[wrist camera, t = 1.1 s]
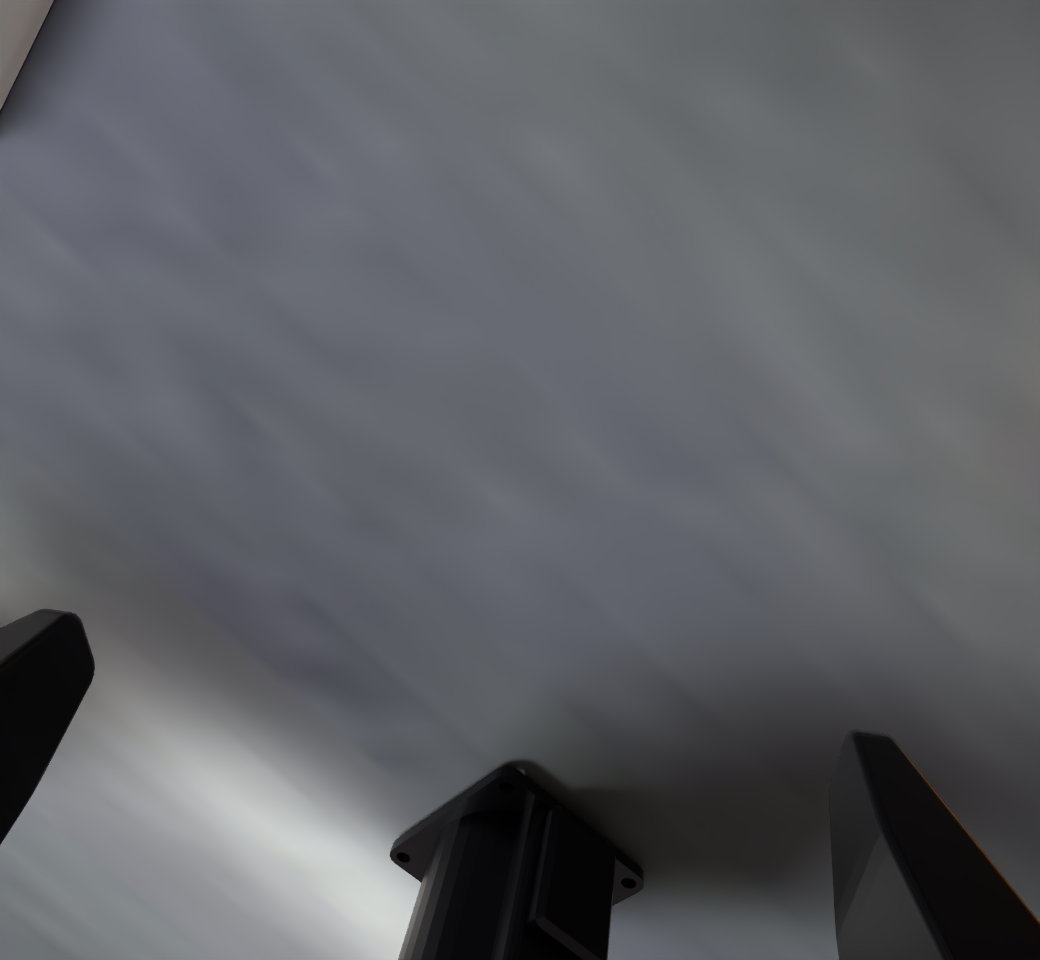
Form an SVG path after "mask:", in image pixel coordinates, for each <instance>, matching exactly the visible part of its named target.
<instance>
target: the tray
mask: <svg viewBox="0 0 1040 960" xmlns="http://www.w3.org/2000/svg"><path fill="white" fill-rule="evenodd" d="M53 1H54V0H0V110H1V108H2V106H3V104H4V102H5V100H6V98H7V96H8V94H9V92H10V90H11V88H12V86H13V83H14V81H15V79H16V77H17V75H18V73H19V71H20V69H21V67H22V65H23V63H24V61H25V59H26V57H27V55H28V53H29V51H30V48H31V46H32V44H33V42H34V40H35V38H36V36H37V34H38V32H39V30H40V28H41V26H42V24H43V22H44V20H45V18H46V16H47V13H48V11H49V9H50V7H51V5H52V3H53Z"/></svg>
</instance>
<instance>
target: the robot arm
mask: <svg viewBox="0 0 1040 960" xmlns="http://www.w3.org/2000/svg"><path fill="white" fill-rule="evenodd" d="M94 670H95V662H94V658H93V655H92V652H91V649H90V646H89V643H88V639H87V636H86V633H85V630H84V627H83V624H82V621H81V619H80V618H79V617H78V616H77V615H76V614H74V613H72V612H65V611H59V610H52V609H42V610H38V611H36V612H34V613H31V614H29V615H27V616H25V617H23V618H21V619H19V620H17V621H15V622H13V623H11V624H9V625H6V626H4V627H2V628H0V845H1V843H2V841H3V840H4V838H5V837H6V835H7V834H8V832H9V831H10V829H11V828H12V826H13V825H14V823H15V821H16V820H17V818H18V817H19V815H20V814H21V812H22V811H23V809H24V807H25V806H26V804H27V802H28V801H29V799H30V798H31V796H32V794H33V793H34V791H35V789H36V787H37V785H38V784H39V782H40V780H41V778H42V776H43V775H44V773H45V771H46V769H47V767H48V765H49V763H50V761H51V759H52V757H53V755H54V753H55V751H56V750H57V748H58V746H59V744H60V742H61V740H62V738H63V736H64V734H65V732H66V730H67V728H68V726H69V725H70V723H71V721H72V719H73V717H74V715H75V713H76V711H77V709H78V707H79V705H80V703H81V701H82V699H83V698H84V696H85V694H86V692H87V690H88V688H89V686H90V684H91V682H92V679H93V676H94ZM505 782H509V783H511V784H507V783H505ZM829 809H830V829H831V849H832V868H833V888H834V908H835V925H836V939H837V947H838V954H839V960H1040V922H1039V920H1038V919H1037V918H1036V917H1035V915H1034V914H1033V913H1032V911H1031V910H1030V909H1029V908H1028V906H1027V905H1026V904H1025V903H1024V901H1023V900H1022V899H1021V898H1020V896H1019V895H1018V894H1017V893H1016V891H1015V890H1014V889H1013V888H1012V886H1011V885H1010V884H1009V883H1008V881H1007V880H1006V879H1005V878H1004V876H1003V875H1002V874H1001V873H1000V871H999V870H998V869H997V868H996V866H995V865H994V864H993V863H992V861H991V860H990V859H989V858H988V856H987V855H986V854H985V853H984V851H983V850H982V849H981V848H980V846H979V845H978V844H977V843H976V841H975V840H974V839H973V838H972V836H971V835H970V834H969V833H968V831H967V830H966V829H965V828H964V826H963V825H962V824H961V823H960V821H959V820H958V819H957V818H956V816H955V815H954V814H953V813H952V811H951V810H950V809H949V808H948V806H947V805H946V804H945V803H944V801H943V800H942V799H941V798H940V796H939V795H938V794H937V793H936V791H935V790H934V789H933V788H932V786H931V785H930V784H929V783H928V781H927V780H926V779H925V778H924V776H923V775H922V774H921V773H920V771H919V770H918V769H917V768H916V766H915V765H914V764H913V763H912V761H911V760H910V759H909V758H908V756H907V755H906V754H905V753H904V751H903V750H902V749H901V748H900V746H899V745H898V744H897V743H896V741H895V740H894V739H893V738H891V737H890V736H888V735H886V734H882V733H875V732H869V731H862V730H852V731H850V732H849V733H848V734H847V735H846V737H845V740H844V743H843V746H842V748H841V751H840V754H839V757H838V760H837V763H836V766H835V769H834V772H833V775H832V778H831V783H830V790H829ZM390 857H391V860H392V861H393V862H394V863H395V864H397V865H398V866H400V867H401V868H402V869H404V870H405V871H406V872H408V873H409V874H410V875H412V876H413V877H415V878H416V879H417V880H419V881H420V882H421V887H420V890H419V893H418V896H417V900H416V903H415V906H414V909H413V913H412V916H411V919H410V923H409V926H408V929H407V932H406V936H405V939H404V942H403V945H402V949H401V952H400V955H399V958H398V960H607V959H608V947H609V934H610V922H611V910H612V906H613V905H615V904H617V903H619V902H621V901H622V900H624V899H626V898H628V897H630V896H632V895H634V894H636V893H637V892H639V891H640V890H642V889H643V886H644V871H643V870H642V869H641V867H640V866H638V865H637V864H636V863H635V862H633V861H632V860H631V859H629V858H628V857H627V856H626V855H624V854H623V853H622V852H621V851H619V850H618V849H617V848H616V847H614V846H613V845H612V844H611V843H609V842H608V841H607V840H606V839H604V838H603V837H602V836H600V835H599V834H598V833H597V832H595V831H594V830H593V829H592V828H590V827H589V826H588V825H587V824H585V823H584V822H583V821H582V820H580V819H579V818H578V817H577V816H575V815H574V814H573V813H571V812H570V811H569V810H568V809H566V808H565V807H564V806H563V805H561V804H560V803H559V802H558V801H556V800H555V799H554V798H553V797H551V796H550V795H549V794H548V793H546V792H545V791H544V790H542V789H541V788H540V787H539V786H537V785H536V784H535V783H534V782H532V781H531V780H530V779H529V778H527V777H526V776H525V775H524V774H522V773H521V772H520V771H518V770H516V769H515V768H511V767H502V768H499V769H497V770H496V771H494V772H493V773H492V774H490V775H489V776H487V777H486V778H484V779H483V780H482V781H480V782H479V783H477V784H476V785H474V786H473V787H471V788H470V789H469V790H467V791H466V792H464V793H463V794H461V795H460V796H458V797H457V798H456V799H454V800H453V801H451V802H450V803H448V804H447V805H445V806H444V807H443V808H441V809H440V810H438V811H437V812H435V813H434V814H433V815H431V816H430V817H428V818H427V819H425V820H424V821H422V822H421V823H420V824H418V825H417V826H415V827H414V828H412V829H411V830H409V831H408V832H407V833H405V834H404V835H402V836H401V837H399V838H398V839H396V840H395V842H394V843H393V846H392V849H391V851H390Z"/></svg>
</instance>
